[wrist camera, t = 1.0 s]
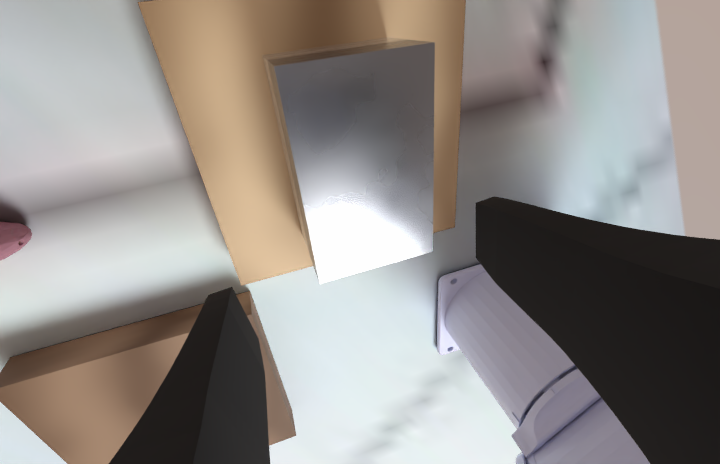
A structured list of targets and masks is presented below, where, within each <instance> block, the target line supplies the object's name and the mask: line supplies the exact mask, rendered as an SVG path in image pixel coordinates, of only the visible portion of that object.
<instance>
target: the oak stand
mask: <svg viewBox="0 0 720 464" xmlns="http://www.w3.org/2000/svg"><path fill="white" fill-rule="evenodd" d="M465 3H466V0H154V1H144V2H138V4H139V7H140V10H141V13H142V15H143V18H144V21H145V24H146V26H147V29H148V32H149V34H150V37H151V40H152V43H153V45H154V48H155V51H156V54H157V56H158V59H159V62H160V65H161V67H162V70H163V73H164V75H165V78H166V81H167V84H168V86H169V89H170V92H171V95H172V97H173V100H174V103H175V106H176V108H177V111H178V114H179V116H180V119H181V122H182V125H183V127H184V130H185V133H186V136H187V138H188V141H189V144H190V147H191V149H192V152H193V155H194V158H195V160H196V163H197V166H198V168H199V171H200V174H201V177H202V179H203V182H204V185H205V188H206V190H207V193H208V196H209V199H210V201H211V204H212V207H213V209H214V212H215V215H216V218H217V220H218V223H219V226H220V229H221V231H222V234H223V237H224V240H225V242H226V245H227V248H228V250H229V253H230V256H231V259H232V261H233V264H234V267H235V270H236V272H237V275H238V278H239V281H240V283H241V286H242V285H245V284H249V283H252V282H256V281H260V280H263V279H267V278H271V277H274V276H278V275H282V274H285V273H289V272H293V271H296V270H300V269H304V268H307V267H311V266H313V263H312V260H311V258H310V255H309V252H308V249H307V246H306V244H305V241H304V238H303V235H302V231H301V227H300V222H299V218H298V213H297V209H296V204H295V200H294V195H293V191H292V186H291V182H290V177H289V173H288V168H287V164H286V160H285V155H284V151H283V146H282V142H281V137H280V133H279V128H278V124H277V119H276V115H275V110H274V106H273V101H272V97H271V92H270V88H269V84H268V79H267V75H266V70H265V66H264V61H263V57H262V55H267V54H274V53H281V52H288V51H295V50H302V49H309V48H316V47H323V46H330V45H337V44H344V43H351V42H358V41H365V40H372V39H379V38H386V37H388V38H398V39H408V40H418V41H428V42H435V82H434V187H433V233H435V232H439V231H443V230H446V229H450V228H454V227H455V212H456V191H457V170H458V150H459V129H460V108H461V87H462V66H463V45H464V24H465Z"/></svg>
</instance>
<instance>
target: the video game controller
mask: <svg viewBox="0 0 720 464" xmlns="http://www.w3.org/2000/svg"><path fill="white" fill-rule="evenodd" d="M31 236H32V233H31V230H30V229H29V228H28V227H27V226H25V225H23V224H20V223H9V222H0V260H2V259H5V258H7V257H8V256H10V255H12V254H13V253H15V252H17V251H18V250H20V249H21V248H22V247H23V246H25V245H26V244H27V242H28V241H29V240H30V239H31Z"/></svg>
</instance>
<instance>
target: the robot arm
mask: <svg viewBox="0 0 720 464" xmlns="http://www.w3.org/2000/svg"><path fill="white" fill-rule="evenodd" d="M476 258H477V260H478V261H479V262H480V264H479V265H476V266H473V267H469V268H466V269H463V270H460V271H456V272H453V273H450V274H446V275H444V276H442V277H441V278H440V279H439V282H438V323H437V351H438V353H439V354H440V355H445V354H448V353H451V352H454V351H456V350H459V349H460V350H461V351H462V353H463V354H464V356H465V357H466V358H467V360H468V361H469V363H470V364H471V365H472V367H473V368H474V370H475V371H476V372H477V374H478V375H479V377H480V378H481V379H482V381H483V382H484V384H485V385H486V386H487V388H488V389H489V391H490V392H491V393H492V395H493V396H494V398H495V399H496V400H497V402H498V403H499V405H500V406H501V407H502V409H503V410H504V412H505V413H506V414H507V416H508V417H509V419H510V420H511V421H512V423H513V424H514V426H515V427H516V428H517V430H516V431H515V432H514V433H513V434H512V438H513V439H514V441H515V442H516V444H517V445H518V447H519V448H520V450H521V451H522V452H521V453H520V454H519V455H518V456H517V458H516V464H720V240H716V239H706V238H695V237H687V236H679V235H671V234H665V233H658V232H651V231H645V230H638V229H633V228H627V227H622V226H617V225H612V224H608V223H603V222H598V221H593V220H589V219H585V218H580V217H576V216H572V215H568V214H564V213H560V212H556V211H552V210H549V209H545V208H541V207H537V206H533V205H529V204H525V203H522V202H517V201H513V200H509V199H504V198H499V197H492V198H489V199H486V200H483V201H480V202H477V203H476ZM452 279H453V280H452ZM451 280H452V281H451ZM109 464H270V455H269V437H268V418H267V399H266V382H265V371H264V365H263V359H262V354H261V349H260V343H259V338H258V336H257V335H256V333H255V331H254V329H253V327H252V325H251V323H250V321H249V319H248V317H247V315H246V313H245V311H244V309H243V308H242V306H241V304H240V302H239V300H238V298H237V296H236V294H235V292H234V290H233V288H232V287H231V288H228V289H225V290H222V291H219V292H216V293H213V294H210V295H208V297H207V299H206V301H205V303H204V305H203V307H202V309H201V311H200V313H199V315H198V317H197V319H196V321H195V323H194V325H193V327H192V329H191V331H190V333H189V335H188V337H187V339H186V340H185V342H184V344H183V346H182V348H181V350H180V352H179V354H178V356H177V357H176V359H175V361H174V363H173V365H172V367H171V369H170V370H169V372H168V374H167V376H166V377H165V379H164V381H163V382H162V384H161V386H160V387H159V389H158V391H157V392H156V394H155V396H154V397H153V399H152V401H151V403H150V404H149V406H148V407H147V409H146V411H145V412H144V414H143V415H142V417H141V418H140V420H139V421H138V423H137V424H136V426H135V427H134V429H133V430H132V432H131V433H130V434H129V436H128V437H127V439H126V440H125V442H124V443H123V444H122V446H121V447H120V449H119V450H118V452H117V453H116V454H115V456H114V457H113V458H112V460H111V461H110V463H109Z"/></svg>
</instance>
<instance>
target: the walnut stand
mask: <svg viewBox="0 0 720 464" xmlns="http://www.w3.org/2000/svg"><path fill="white" fill-rule="evenodd" d="M236 296H237V298H238V300H239V302H240V304H241V306H242V308H243V309H244V311H245V313H246V315H247V317H248V319H249V321H250V323H251V325H252V327H253V329H254V331H255V333H256V335H257V336H258V338H259V343H260V349H261V354H262V359H263V365H264V371H265V382H266V399H267V418H268V437H269V445H272V444H275V443H277V442H280V441H283V440H285V439H288V438H291V437H293V436H296V432H295V426H294V420H293V414H292V409H291V406H290V404H289V401H288V398H287V395H286V392H285V389H284V387H283V384H282V381H281V378H280V375H279V372H278V370H277V367H276V364H275V361H274V358H273V355H272V353H271V350H270V347H269V344H268V341H267V338H266V336H265V333H264V330H263V327H262V324H261V321H260V319H259V316H258V313H257V310H256V307H255V304H254V302H253V299H252V296H251V293H250V291H248V292H244V293H240V294H237V295H236ZM203 305H204V304H201V305H197V306H194V307H190V308H186V309H183V310H179V311H176V312H172V313H168V314H165V315H161V316H158V317H154V318H150V319H147V320H143V321H140V322H136V323H132V324H129V325H125V326H122V327H118V328H114V329H111V330H107V331H104V332H100V333H96V334H93V335H89V336H86V337H82V338H78V339H75V340H71V341H68V342H64V343H60V344H57V345H53V346H50V347H46V348H42V349H39V350H35V351H32V352H28V353H24V354H21V355H17V356H14V357H10V359H9V360H8V362H7V363H6V365H5V366H4V368H3V369H2V371H1V373H0V402H1V403H2V404H3V405H4V406H6V407H7V408H8V409H9V410H10V411H11V412H12V413H13V414H14V415H15V416H16V417H18V418H19V419H20V420H21V421H22V422H23V423H24V424H25V425H26V426H27V427H28V428H29V429H31V430H32V431H33V432H34V433H35V434H36V435H37V436H38V437H39V438H40V439H41V440H42V441H44V442H45V443H46V444H47V445H48V446H49V447H50V448H51V449H52V450H53V451H54V452H56V453H57V454H58V455H59V456H60V457H61V458H62V459H63V460H64V461H65V462H66V463H67V464H109V463H110V461H111V460H112V458H113V457H114V456H115V454H116V453H117V452H118V450H119V449H120V447H121V446H122V444H123V443H124V442H125V440H126V439H127V437H128V436H129V434H130V433H131V432H132V430H133V429H134V427H135V426H136V424H137V423H138V421H139V420H140V418H141V417H142V415H143V414H144V412H145V411H146V409H147V407H148V406H149V404H150V403H151V401H152V399H153V397H154V396H155V394H156V392H157V391H158V389H159V387H160V386H161V384H162V382H163V381H164V379H165V377H166V376H167V374H168V372H169V370H170V369H171V367H172V365H173V363H174V361H175V359H176V357H177V356H178V354H179V352H180V350H181V348H182V346H183V344H184V342H185V340H186V339H187V337H188V335H189V333H190V331H191V329H192V327H193V325H194V323H195V321H196V319H197V317H198V315H199V313H200V311H201V309H202V307H203Z"/></svg>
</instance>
